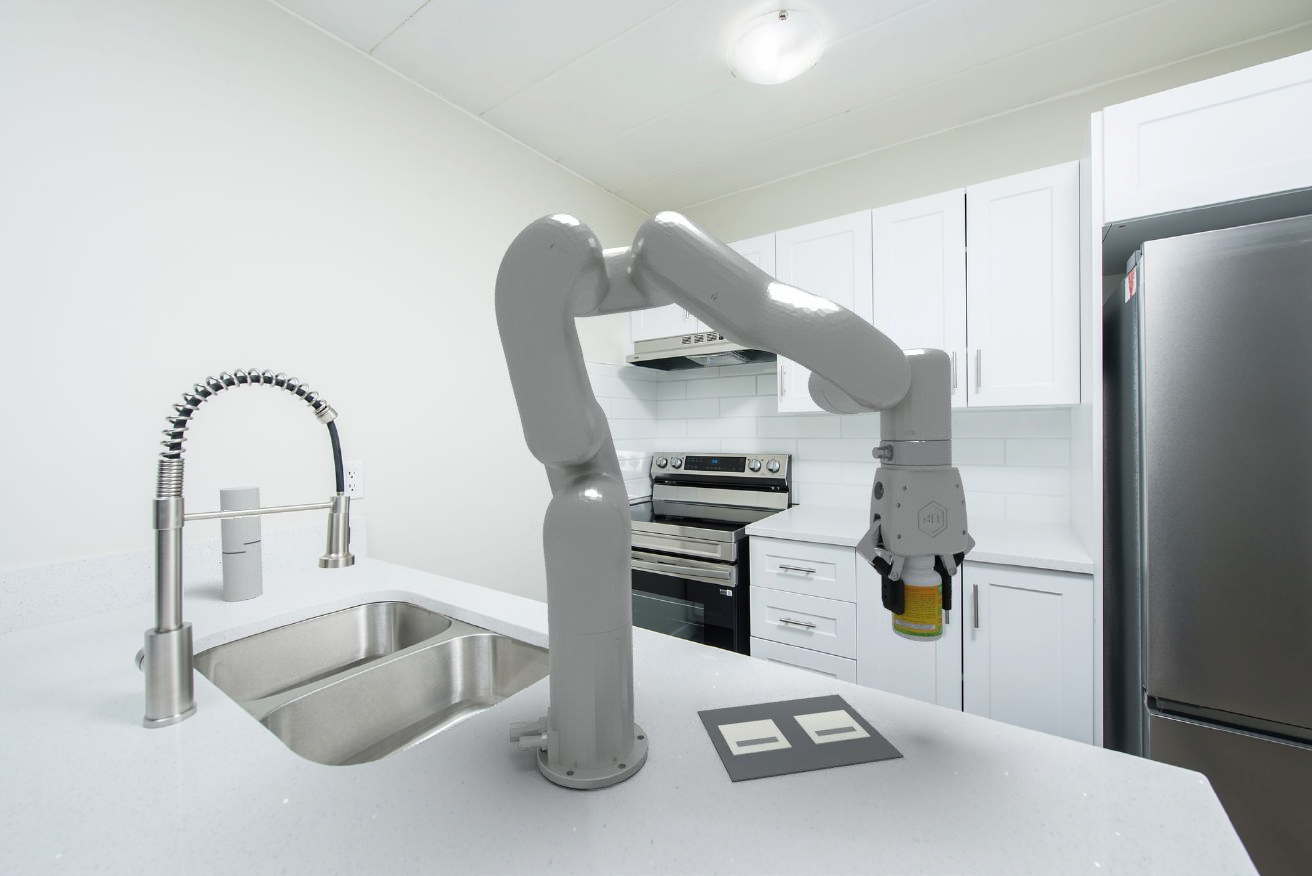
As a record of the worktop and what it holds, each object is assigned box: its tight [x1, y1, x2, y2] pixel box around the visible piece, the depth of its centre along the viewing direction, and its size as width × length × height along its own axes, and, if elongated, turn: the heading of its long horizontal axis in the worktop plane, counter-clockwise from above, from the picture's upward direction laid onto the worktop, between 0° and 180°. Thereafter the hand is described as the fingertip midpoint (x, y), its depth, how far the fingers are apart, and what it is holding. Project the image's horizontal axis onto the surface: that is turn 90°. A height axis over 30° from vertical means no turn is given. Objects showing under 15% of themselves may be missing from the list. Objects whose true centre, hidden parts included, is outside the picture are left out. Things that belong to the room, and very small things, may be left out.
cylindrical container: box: [219, 486, 264, 602], centre depth 123 cm, size 7×7×25 cm
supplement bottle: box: [891, 555, 944, 643], centre depth 63 cm, size 5×5×10 cm
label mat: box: [697, 693, 905, 783], centre depth 65 cm, size 20×14×1 cm
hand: (916, 607), depth 63 cm, fingers closed on supplement bottle, 5 cm apart
